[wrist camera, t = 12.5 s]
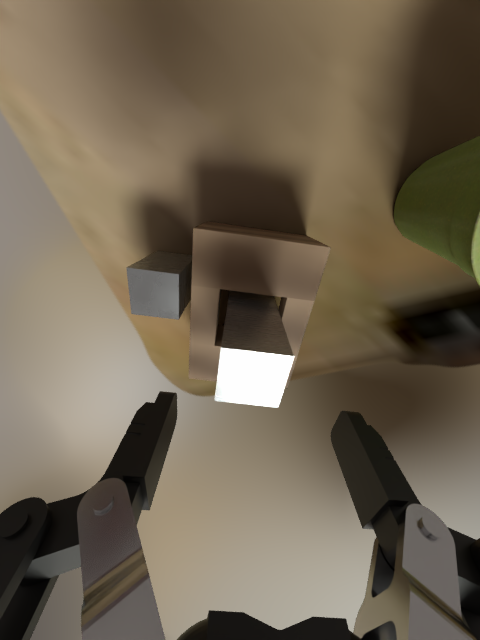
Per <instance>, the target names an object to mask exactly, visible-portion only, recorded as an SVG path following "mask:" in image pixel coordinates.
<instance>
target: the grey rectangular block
mask: <svg viewBox="0 0 480 640" xmlns="http://www.w3.org/2000/svg"><path fill="white" fill-rule="evenodd" d="M127 277H128V286H129V295H130V304H131V313H132V314H136V315H145V316H153V317H161V318H170V319H178V320H179V318H180V317H181V315H182V313H183V311H184V309H185V308H186V306H187V304H188V302H189V300H190V299H191V284H192V255H186V254H179V253H171V252H164V251H156V252H154V253H153V254H151V255H149V256H147V257H145V258H143V259H141V260H140V261H138V262H136V263H134V264H132V265H130V266H128V267H127Z"/></svg>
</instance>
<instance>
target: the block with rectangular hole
mask: <svg viewBox="0 0 480 640" xmlns="http://www.w3.org/2000/svg"><path fill="white" fill-rule="evenodd" d="M330 249H331V247H329V246H327V245H325V244H323V243H321V242H319V241H317V240H315V239H313V238H310V237H308V236H306V235H299V234H292V233H285V232H278V231H271V230H264V229H257V228H250V227H243V226H236V225H229V224H222V223H215V222H208V221H207V222H205V223H203V224H201V225H199V226H196V227H194V228H193V251H192V284H191V317H190V351H189V378H190V379H199V380H209V381H217V376H218V368H219V360H220V351H221V344H222V337H223V331H224V326H222V325H218V316H219V306H220V295H221V289H223V290H231V291H239V292H247V293H255V294H263V295H270V296H278V297H281V301H280V306H279V313H280V316H281V319H282V322H283V325H284V328H285V331H286V334H287V337H288V340H289V343H290V346H291V349H292V352H293V355H294V358H293V362H292V365H291V368H290V371H289V374H288V378H287V381H286V384H285V387H284V389H287V388H288V384H289V381H290V378H291V375H292V371H293V368H294V365H295V362H296V359H297V355H298V352H299V349H300V346H301V343H302V339H303V336H304V333H305V330H306V326H307V323H308V320H309V317H310V314H311V310H312V307H313V304H314V301H315V297H316V294H317V291H318V288H319V285H320V281H321V278H322V275H323V272H324V269H325V265H326V262H327V259H328V256H329V252H330Z"/></svg>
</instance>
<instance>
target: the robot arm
mask: <svg viewBox="0 0 480 640" xmlns="http://www.w3.org/2000/svg"><path fill="white" fill-rule="evenodd" d="M176 420H177V394H176V393H171V392H160V393H159V394H158V397H157V399H156V401H155V403H148V402H146V403H145V404H144V405H143V406H142V407H141V408H140V409H139V410H138V411H137V412H136V414H135V416H134V418H133V420H132V422H131V425H130V426H129V427H128V429H127V431H126V434H125V436H124V437H123V439H122V441H121V443H120V445H119V447H118V449H117V451H116V453H115V455H114V457H113V459H112V461H111V463H110V465H109V467H108V469H107V470H106V472H105V474H104V475H103V477H102V478H101V480H100V481H98V483H96V484H95V485H94V486H93V487H92V488H90V489H89V490H87V491H86V492H84V493H82V494H80V495H77V496H74V497H70V498H67V499H63V500H60V501H56V502H52V503H48V504H46V503H45V501H44V500H42V499H41V498H35V497H33V498H27V499H24V500H21V501H19V502H17V503H15V504H13V505H12V506H10V507H9V508H7V509H6V510H4V511H3V512H2V513H1V514H0V640H30V638H31V636H32V634H33V631H34V629H35V627H36V625H37V623H38V620H39V618H40V616H41V614H42V612H43V609H44V607H45V605H46V603H47V601H48V598H49V596H50V594H51V592H52V589H53V587H54V585H55V582H56V580H57V578H58V576H59V575H60V574H62V573H65V572H67V571H70V570H73V569H76V568H79V567H81V570H82V582H83V594H84V595H83V596H84V597H83V599H84V600H83V606H82V610H81V629H82V640H165V636H164V632H163V628H162V625H161V621H160V616H159V613H158V608H157V604H156V600H155V596H154V593H153V589H152V585H151V581H150V577H149V573H148V569H147V565H146V561H145V557H144V554H143V550H142V546H141V542H140V538H139V534H138V530H137V526H136V525H137V522H138V519H139V516H140V513H141V510H150V507H151V504H152V501H153V497H154V494H155V491H156V487H157V484H158V481H159V478H160V474H161V471H162V468H163V464H164V461H165V458H166V455H167V451H168V448H169V445H170V442H171V439H172V435H173V432H174V429H175V425H176ZM331 441H332V444H333V448H334V450H335V453H336V456H337V459H338V462H339V464H340V467H341V470H342V473H343V475H344V478H345V481H346V484H347V487H348V489H349V492H350V495H351V498H352V500H353V503H354V506H355V509H356V511H357V514H358V517H359V520H360V522H361V525H362V528H363V529H374V531H375V534H376V536H377V537H376V539H375V541H374V546H373V553H372V559H371V565H370V571H369V577H368V583H367V589H366V595H365V598H364V601H363V603H362V605H361V607H360V609H359V612H358V615H357V618H356V622H355V626H354V632H353V633H352V632H351V631H349V629H348V625H347V621H346V619H342V618H325V617H311V618H309V619H307V620H304V621H302V622H300V623H297V624H295V625H292V626H290V627H288V628H285V629H283V630H277V629H275V628H273V627H271V626H269V625H267V624H265V623H263V622H261V621H259V620H257V619H255V618H253V617H251V616H249V615H247V614H245V613H242V612H226V611H209V613H208V617H207V619H205V620H202V621H200V622H198V623H196V624H195V625H193V626H191V627H190V628H189V629H188V630H186V631H185V632H184V633H183V634H182V635H181V636H180V637H179V638H178V639H177V640H480V538H479V539H478V540H475V539H473V538H471V537H468V536H466V535H464V534H461V533H459V532H457V531H454V530H452V529H450V528H448V527H447V526H446V525H445V524H444V522H443V521H442V520H441V519H440V518H439V517H438V516H437V515H436V514H435V513H434V512H432V511H431V510H430V509H428V508H426V507H424V506H422V505H421V503H420V502H419V500H418V499H417V497H416V495H415V494H414V492H413V491H412V489H411V487H410V485H409V484H408V482H407V480H406V478H405V477H404V475H403V473H402V471H401V470H400V468H399V466H398V465H397V463H396V461H395V460H394V458H393V456H392V454H391V452H390V451H389V450H388V447H387V446H386V444H385V442H384V440H383V439H382V437H381V436H380V435H379V434H378V432H376V430H375V429H374V428H373V427H372V426H371V425H367V424H366V422H365V420H364V418H363V417H362V415H361V414H360V413H358V412H350V411H342V412H341V413H340V415H339V416H338V419H337V420H336V423H335V424H334V426H333V428H332V431H331Z"/></svg>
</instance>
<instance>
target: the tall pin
mask: <svg viewBox="0 0 480 640" xmlns="http://www.w3.org/2000/svg"><path fill="white" fill-rule="evenodd" d="M293 358H294V355H293V352H292V349H291V346H290V343H289V340H288V337H287V334H286V331H285V328H284V325H283V322H282V319H281V316H280V313H279V310H278V307H277V304H276V301H275V298H274V296H270V295H263V294H255V293H247V292H239V291H231V290H230V292H229V298H228V305H227V311H226V318H225V324H224V331H223V337H222V344H221V351H220V360H219V368H218V376H217V385H216V393H215V401H223V402H231V403H241V404H250V405H259V406H269V407H278V406H279V403H280V400H281V397H282V393H283V390H284V387H285V384H286V381H287V378H288V374H289V371H290V368H291V365H292V362H293Z"/></svg>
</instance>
